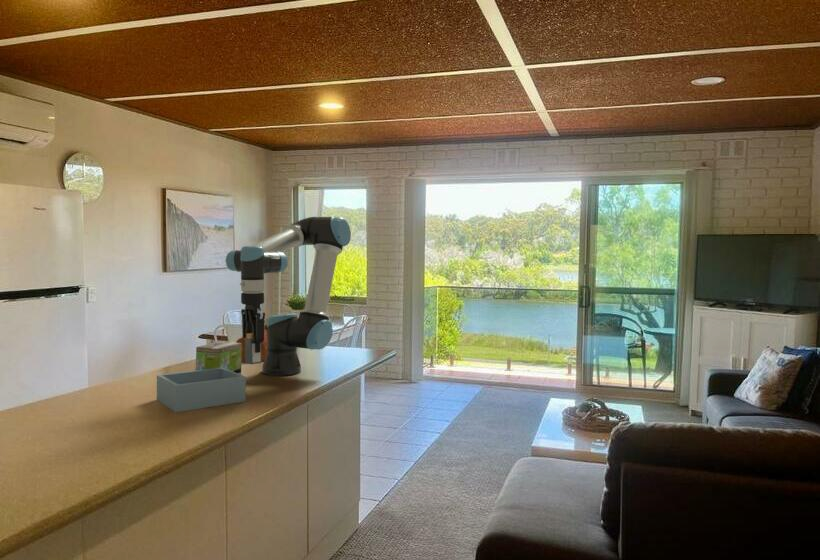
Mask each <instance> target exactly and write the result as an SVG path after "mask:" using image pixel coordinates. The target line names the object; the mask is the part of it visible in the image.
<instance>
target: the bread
mask: <svg viewBox="0 0 820 560" xmlns="http://www.w3.org/2000/svg"><path fill="white" fill-rule="evenodd" d="M235 343H242V360H241V362H245V338H243V336H242V337H239V338H238V339H236V341H235ZM266 354H267V330H265V329H264V341H263V342H261V362H264V360H265V357H266Z"/></svg>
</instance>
